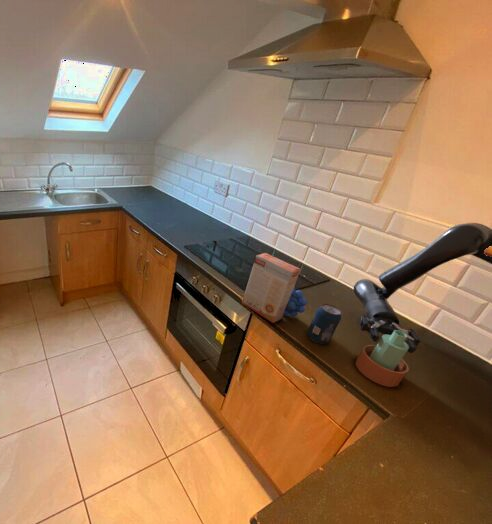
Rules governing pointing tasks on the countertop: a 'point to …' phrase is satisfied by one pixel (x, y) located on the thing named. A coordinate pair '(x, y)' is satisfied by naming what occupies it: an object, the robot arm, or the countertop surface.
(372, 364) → the terracotta bowl
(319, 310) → the soda can
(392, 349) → the bottle
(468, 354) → the countertop surface
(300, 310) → the grapes
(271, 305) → the cracker box
